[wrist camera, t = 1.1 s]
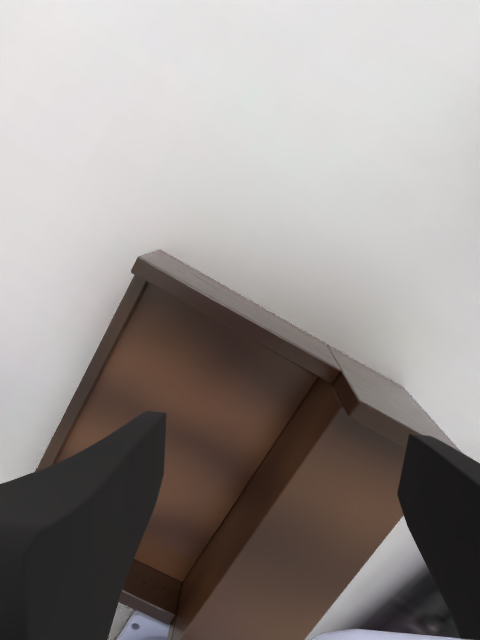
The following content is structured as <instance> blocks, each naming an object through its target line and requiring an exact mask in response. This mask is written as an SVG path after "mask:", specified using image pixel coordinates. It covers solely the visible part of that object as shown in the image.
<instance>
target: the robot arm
mask: <svg viewBox="0 0 480 640" xmlns="http://www.w3.org/2000/svg"><path fill="white" fill-rule="evenodd" d="M165 435H166V413H165V412H154V411H145V412H143V413H142V414H140V415H138V416H137V417H135V418H134V419H132V420H131V421H130V422H128V423H127V424H125V425H124V426H122V427H120V428H119V429H117V430H116V431H114V432H113V433H111V434H110V435H108V436H107V437H105V438H103V439H102V440H100V441H98V442H96V443H95V444H93V445H91V446H89V447H88V448H86V449H84V450H82V451H81V452H79V453H77V454H75V455H73V456H71V457H69V458H67V459H65V460H63V461H60V462H58V463H56V464H54V465H52V466H49V467H47V468H44V469H42V470H39V471H37V472H34V473H31V474H28V475H26V476H23V477H20V478H17V479H15V480H12V481H9V482H6V483H2V484H0V640H107V639H108V635H109V632H110V628H111V625H112V622H113V618H114V615H115V612H116V608H117V605H118V601H119V598H120V595H121V591H122V589H123V586H124V583H125V580H126V577H127V575H128V572H129V570H130V567H131V565H132V562H133V560H134V557H135V555H136V552H137V550H138V547H139V545H140V542H141V540H142V538H143V535H144V533H145V530H146V528H147V525H148V523H149V520H150V518H151V515H152V513H153V510H154V508H155V505H156V502H157V498H158V495H159V491H160V487H161V483H162V479H163V475H164V460H165ZM397 496H398V499H399V502H400V505H401V508H402V511H403V514H404V517H405V520H406V523H407V526H408V528H409V530H410V532H411V534H412V536H413V538H414V540H415V542H416V544H417V547H418V549H419V551H420V553H421V555H422V557H423V559H424V561H425V563H426V565H427V567H428V569H429V571H430V573H431V575H432V577H433V579H434V581H435V583H436V585H437V587H438V589H439V591H440V593H441V595H442V597H443V599H444V601H445V603H446V605H447V607H448V609H449V611H450V614H451V616H452V618H453V620H454V623H455V625H456V628H457V630H458V633H459V635H460V638H461V639H460V638H449V637H438V636H427V635H417V634H406V633H395V632H384V631H373V630H363V629H351V630H342V631H333V632H324V633H321V634H319V635H318V636H316V637H314V638H313V639H311V640H480V463H478V462H476V461H475V460H473V459H471V458H470V457H468V456H466V455H465V454H463V453H461V452H460V451H458V450H456V449H455V448H453V447H451V446H449V445H448V444H446V443H444V442H442V441H440V440H438V439H436V438H434V437H432V436H427V435H416V434H409V437H408V442H407V447H406V452H405V457H404V462H403V467H402V472H401V477H400V482H399V487H398V492H397ZM169 626H170V625H167V624H164V623H162V622H160V621H158V620H156V619H154V618H152V617H150V616H147V615H145V614H143V613H141V612H139V611H137V610H136V611H135V612H134V613H133V614H132V616H131V617H130V619H129V620H128V622H127V623H126V625H125V627H124V628H123V630H122V631H121V633H120V634H119V636H118V638H117V639H116V640H167V636H168V631H169Z"/></svg>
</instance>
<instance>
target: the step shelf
mask: <svg viewBox="0 0 480 640" xmlns="http://www.w3.org/2000/svg"><path fill="white" fill-rule="evenodd" d="M131 273H132V274H134V277H133V279H132V281H131V283H130V285H129V287H128V289H127V291H126V293H125V295H124V297H123V299H122V301H121V303H120V305H119V307H118V309H117V311H116V313H115V315H114V317H113V319H112V321H111V323H110V325H109V327H108V329H107V331H106V333H105V335H104V337H103V339H102V341H101V343H100V345H99V347H98V349H97V351H96V353H95V355H94V357H93V359H92V361H91V362H90V364H89V366H88V368H87V370H86V372H85V374H84V376H83V378H82V380H81V382H80V384H79V386H78V388H77V390H76V392H75V394H74V396H73V398H72V400H71V402H70V404H69V406H68V408H67V410H66V412H65V414H64V416H63V418H62V420H61V422H60V424H59V426H58V428H57V430H56V432H55V434H54V436H53V438H52V440H51V442H50V444H49V446H48V448H47V450H46V452H45V454H44V456H43V458H42V459H41V461H40V463H39V465H38V467H37V469H36V471H35V472H37V471H39V470H42V469H44V468H47V467H49V466H52V465H54V464H56V463H58V462H60V461H63V460H65V459H67V458H69V457H71V456H73V455H75V454H77V453H79V452H81V451H82V450H84V449H86V448H88V447H89V446H91V445H93V444H95V443H96V442H98V441H100V440H102V439H103V438H105V437H107V436H108V435H110V434H111V433H113V432H114V431H116V430H117V429H119V428H120V427H122V426H124V425H125V424H127V423H128V422H130V421H131V420H132V419H134V418H135V417H137V416H138V415H140V414H142V413H143V412H145V411H154V412H165V413H166V435H165V460H164V475H163V479H162V483H161V487H160V491H159V495H158V498H157V502H156V505H155V508H154V510H153V513H152V515H151V518H150V520H149V523H148V525H147V528H146V530H145V533H144V535H143V538H142V540H141V542H140V545H139V547H138V550H137V552H136V555H135V557H134V560H133V562H132V565H131V567H130V570H129V572H128V575H127V577H126V580H125V583H124V586H123V589H122V591H121V595H120V598H119V601H118V602H120V603H122V604H124V605H126V606H128V607H130V608H133V609H135V610H137V611H139V612H141V613H143V614H145V615H147V616H150V617H152V618H154V619H156V620H158V621H160V622H162V623H164V624H167V625H170V626H169V631H168V636H167V640H305V638H306V637H307V636H308V635H309V633H310V632H311V631H312V630H313V628H314V627H315V626H316V625H317V623H318V622H319V621H320V620H321V618H322V617H323V616H324V615H325V613H326V612H327V611H328V609H329V608H330V607H331V606H332V604H333V603H334V602H335V601H336V599H337V598H338V597H339V596H340V594H341V593H342V592H343V591H344V589H345V588H346V587H347V586H348V584H349V583H350V582H351V581H352V579H353V578H354V577H355V576H356V574H357V573H358V572H359V571H360V569H361V568H362V567H363V566H364V564H365V563H366V562H367V560H368V559H369V558H370V557H371V555H372V554H373V553H374V552H375V550H376V549H377V548H378V547H379V545H380V544H381V543H382V542H383V540H384V539H385V538H386V537H387V535H388V534H389V533H390V532H391V530H392V529H393V528H394V527H395V525H396V524H397V523H398V522H399V520H400V519H401V518H402V516H403V515H404V514H403V511H402V508H401V505H400V502H399V499H398V496H397V492H398V487H399V482H400V477H401V472H402V467H403V462H404V457H405V452H406V447H407V442H408V437H409V434H416V435H427V436H432V437H434V438H436V439H438V440H440V441H442V442H444V443H446V444H448V445H449V446H451V447H453V448H455V449H456V450H458V451H460V450H459V449H458V448H457V447H456V446H455V444H454V443H453V442H452V441H451V440H450V439H449V438H448V437H447V436H446V434H445V433H444V432H443V431H442V430H441V429H440V428H439V427H438V425H437V424H436V423H435V422H434V421H433V420H432V419H431V418H430V416H429V415H428V414H427V413H426V412H425V411H424V410H423V409H422V408H421V406H420V405H419V404H418V403H417V402H416V401H415V400H414V399H413V397H412V396H411V395H410V394H409V393H408V392H407V391H406V390H405V388H403V387H402V386H400V385H398V384H396V383H395V382H393V381H391V380H389V379H388V378H386V377H384V376H382V375H380V374H379V373H377V372H375V371H373V370H372V369H370V368H368V367H366V366H365V365H363V364H361V363H359V362H358V361H356V360H354V359H352V358H350V357H349V356H347V355H345V354H343V353H342V352H340V351H338V350H336V349H335V348H333V347H331V346H329V345H326V344H325V343H324V342H322V341H320V340H319V339H317V338H315V337H313V336H312V335H310V334H308V333H306V332H305V331H303V330H301V329H299V328H297V327H296V326H294V325H292V324H290V323H289V322H287V321H285V320H283V319H282V318H280V317H278V316H276V315H274V314H273V313H271V312H269V311H267V310H266V309H264V308H262V307H260V306H259V305H257V304H255V303H253V302H252V301H250V300H248V299H246V298H244V297H243V296H241V295H239V294H237V293H236V292H234V291H232V290H230V289H229V288H227V287H225V286H223V285H222V284H220V283H218V282H216V281H214V280H213V279H211V278H209V277H207V276H206V275H204V274H202V273H200V272H199V271H197V270H195V269H193V268H192V267H190V266H188V265H186V264H184V263H183V262H181V261H179V260H177V259H176V258H174V257H172V256H170V255H169V254H167V253H165V252H163V251H161V250H157V251H154V252H151V253H148V254H145V255H142V256H139V257H138V258H137V260H136V262H135V264H134V266H133V268H132V270H131ZM460 452H461V451H460ZM461 453H462V452H461Z"/></svg>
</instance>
